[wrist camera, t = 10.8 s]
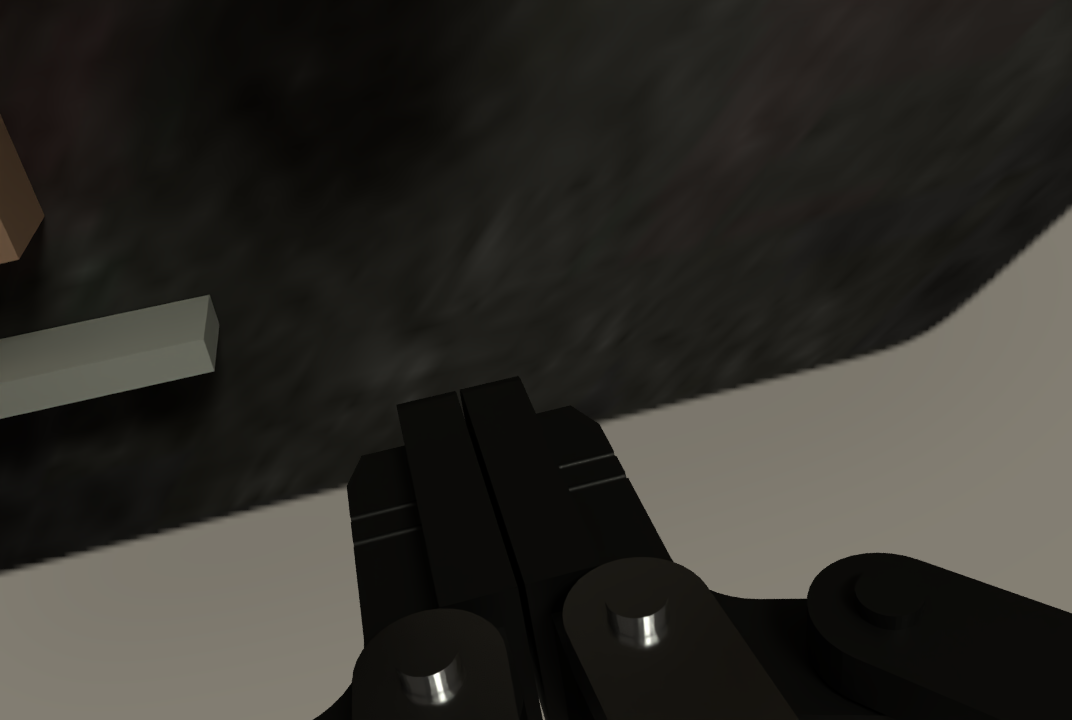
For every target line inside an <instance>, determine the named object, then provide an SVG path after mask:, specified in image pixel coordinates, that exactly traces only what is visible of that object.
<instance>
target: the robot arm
mask: <svg viewBox="0 0 1072 720" xmlns="http://www.w3.org/2000/svg"><path fill="white" fill-rule="evenodd" d="M460 395H461V401H462V407H463V412H464V416H463V413H462V410H461V406H460V403H459V400H458V397H457V394H456V392H455V391H453V392H449V393H445V394H440V395H436V396H432V397H428V398H423V399H419V400H415V401H410V402H406V403H402V404H398V405H397V410H398V415H399V420H400V424H401V429H402V434H403V439H404V443H405V446H401V447H397V448H393V449H388V450H384V451H380V452H376V453H372V454H368V455H363V456H361V458H360V460H359V462H358V464H357V466H356V468H355V471H354V473H353V475H352V477H351V479H350V481H349V483H348V485H347V492H348V501H349V510H350V517H351V528H352V537H353V543H354V555H355V564H356V572H357V582H358V590H359V599H360V608H361V617H362V625H363V635H364V649H363V650H362V652H361V654H360V656H359V658H358V659H357V661H356V664H355V668H354V670H353V678H352V683H351V685H350V686H349V687H348V689H347V690H346V691H345V693H344V694H343V695H342V696H341V697H340V698H339V699H338V700H337V701H336V702H335V703H334V704H333V705H332V706H331V707H330V708H328V709H327V710H326V711H325V712H323V713H322V714H321V715H319V716H318V717H316V718H315V719H313V720H543V719H542V713H541V708H540V703H541V707H542V710H543V713H544V717H545V720H1072V613H1069V612H1066V611H1063V610H1061V609H1058V608H1055V607H1052V606H1049V605H1046V604H1043V603H1041V602H1038V601H1035V600H1032V599H1029V598H1026V597H1024V596H1020V595H1018V594H1015V593H1012V592H1009V591H1006V590H1003V589H1000V588H998V587H995V586H992V585H989V584H986V583H983V582H981V581H978V580H975V579H972V578H969V577H966V576H963V575H961V574H958V573H955V572H952V571H949V570H946V569H943V568H941V567H937V566H935V565H932V564H929V563H926V562H923V561H920V560H918V559H914V558H911V557H907V556H903V555H897V554H890V553H889V554H888V553H865V554H859V555H853V556H850V557H846V558H843V559H840V560H838V561H836V562H834V563H832V564H830V565H829V566H827V567H826V568H825V569H823V570H822V571H821V572H820V573H819V574H818V575H817V576H816V577H815V579H814V580H813V582H812V584H811V586H810V588H809V592H808V595H807V599H744V598H738V597H732V596H728V595H724V594H720V593H717V592H714V591H712V590H709V589H708V587H707V585H706V584H705V583H704V582H703V581H702V580H701V578H700V577H698V576H697V575H696V574H694V573H693V572H692V571H691V570H689V569H687V568H685V567H684V566H682V565H679V564H677V563H674V562H673V560H672V559H671V557H670V555H669V553H668V552H667V550H666V548H665V546H664V544H663V542H662V540H661V539H660V537H659V535H658V533H657V531H656V529H655V527H654V526H653V524H652V522H651V520H650V518H649V516H648V514H647V512H646V510H645V509H644V507H643V505H642V503H641V501H640V499H639V497H638V495H637V494H636V492H635V490H634V488H633V486H632V484H631V482H630V481H629V479H628V478H626V475H625V471H624V469H623V468H622V466H621V464H620V462H619V460H618V458H617V456H615V455H614V451H613V449H612V447H611V445H610V443H609V441H608V439H607V438H606V436H605V434H604V432H603V430H602V429H601V426H600V424H598V423H597V422H595V421H594V420H592V419H591V418H589V417H587V416H586V415H584V414H583V413H581V412H580V411H578V410H577V409H575V408H574V407H572V406H567V407H562V408H558V409H554V410H550V411H546V412H542V413H537V414H536V413H535V411H534V409H533V406H532V404H531V402H530V399H529V397H528V395H527V393H526V390H525V388H524V386H523V384H522V381H521V379H520V378H519V376H516V377H512V378H508V379H503V380H499V381H495V382H491V383H486V384H482V385H478V386H474V387H469V388H465V389H461V390H460ZM464 417H465V419H464ZM539 700H540V703H539Z"/></svg>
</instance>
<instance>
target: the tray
mask: <svg viewBox="0 0 1072 720" xmlns="http://www.w3.org/2000/svg"><path fill="white" fill-rule="evenodd" d="M218 333H219V322H218V319H217V316H216V313H215V310H214V307H213V304H212V301H211V298H210V295H206V296H201V297H196V298H192V299H187V300H182V301H178V302H173V303H168V304H163V305H159V306H154V307H149V308H145V309H140V310H135V311H130V312H126V313H121V314H116V315H112V316H107V317H102V318H97V319H93V320H88V321H83V322H79V323H74V324H69V325H64V326H60V327H55V328H50V329H46V330H41V331H36V332H32V333H27V334H22V335H17V336H13V337H8V338H3V339H0V419H2V418H6V417H11V416H15V415H20V414H24V413H29V412H33V411H38V410H42V409H47V408H51V407H56V406H60V405H65V404H69V403H74V402H78V401H83V400H87V399H92V398H96V397H101V396H105V395H110V394H114V393H119V392H123V391H128V390H132V389H137V388H141V387H146V386H150V385H155V384H159V383H164V382H168V381H173V380H177V379H182V378H186V377H191V376H195V375H200V374H204V373H209V372H213V371H214V370H215V361H216V351H217V342H218Z"/></svg>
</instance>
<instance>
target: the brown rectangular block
mask: <svg viewBox="0 0 1072 720" xmlns="http://www.w3.org/2000/svg"><path fill="white" fill-rule="evenodd" d="M43 218H44V213H43V211H42V209H41V207H40V204H39V202H38V200H37V197H36V195H35V193H34V191H33V188H32V186H31V184H30V181H29V179H28V177H27V174H26V172H25V170H24V168H23V165H22V163H21V161H20V158H19V156H18V154H17V152H16V149H15V147H14V145H13V142H12V140H11V138H10V135H9V133H8V131H7V129H6V126H5V124H4V122H3V119H2V117H1V115H0V264H1V263H6V262H10V261H14V260H19V259H20V257H21V255H22V254H23V252H24V250H25V249H26V247H27V245H28V243H29V242H30V240H31V238H32V237H33V235H34V233H35V232H36V230H37V228H38V227H39V225H40V223H41V221H42V220H43Z"/></svg>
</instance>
